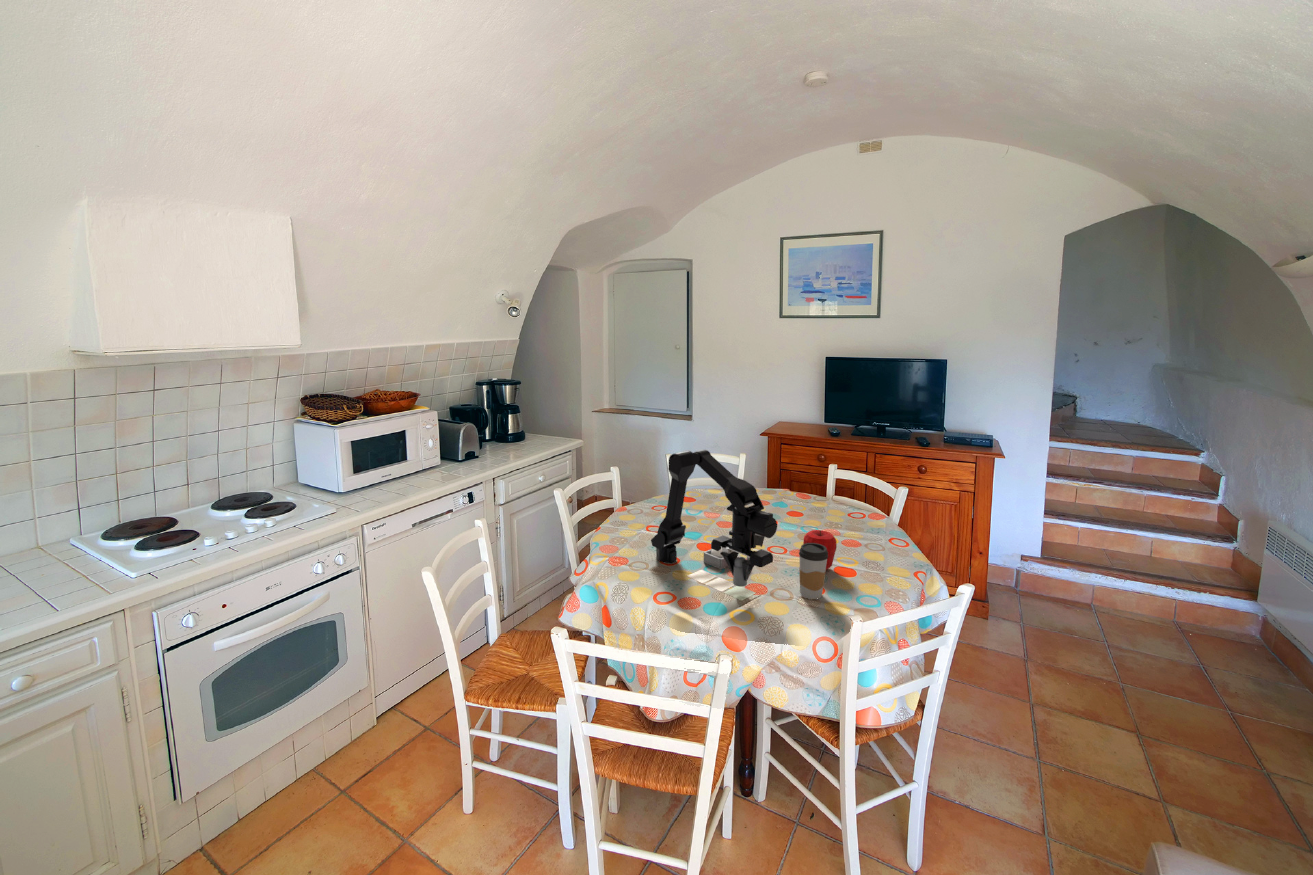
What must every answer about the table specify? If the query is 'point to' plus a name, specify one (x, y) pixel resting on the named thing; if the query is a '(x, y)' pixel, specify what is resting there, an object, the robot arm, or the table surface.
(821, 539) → the apple
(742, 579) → the pawn
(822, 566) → the coffee cup
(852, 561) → the table surface
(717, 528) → the table surface
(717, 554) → the dome
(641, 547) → the table surface
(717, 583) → the game board
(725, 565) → the dome housing
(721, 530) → the table surface
